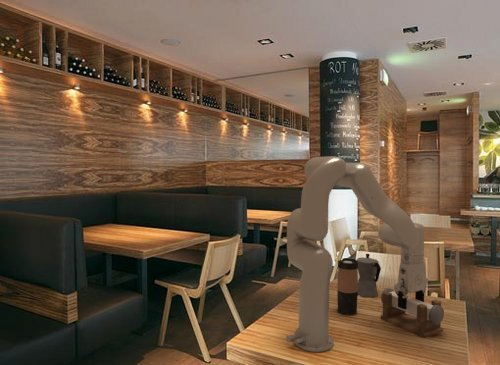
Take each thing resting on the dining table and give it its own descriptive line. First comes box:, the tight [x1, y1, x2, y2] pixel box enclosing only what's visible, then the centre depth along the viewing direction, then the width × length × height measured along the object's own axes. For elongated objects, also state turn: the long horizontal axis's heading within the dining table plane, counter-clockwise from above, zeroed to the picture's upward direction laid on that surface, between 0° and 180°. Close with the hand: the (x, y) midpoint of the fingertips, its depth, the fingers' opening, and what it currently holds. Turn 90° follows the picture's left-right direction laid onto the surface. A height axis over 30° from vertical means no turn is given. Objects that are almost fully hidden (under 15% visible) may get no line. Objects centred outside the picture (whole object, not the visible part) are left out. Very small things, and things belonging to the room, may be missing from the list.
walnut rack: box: [380, 291, 444, 339], centre depth 134 cm, size 18×10×10 cm, turn 31°
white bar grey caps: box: [380, 287, 445, 325], centre depth 134 cm, size 21×6×6 cm, turn 31°
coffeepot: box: [356, 253, 382, 298], centre depth 164 cm, size 15×9×18 cm, turn 17°
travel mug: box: [336, 258, 359, 316], centre depth 145 cm, size 8×8×20 cm
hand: (410, 305), depth 134 cm, fingers open, 9 cm apart
